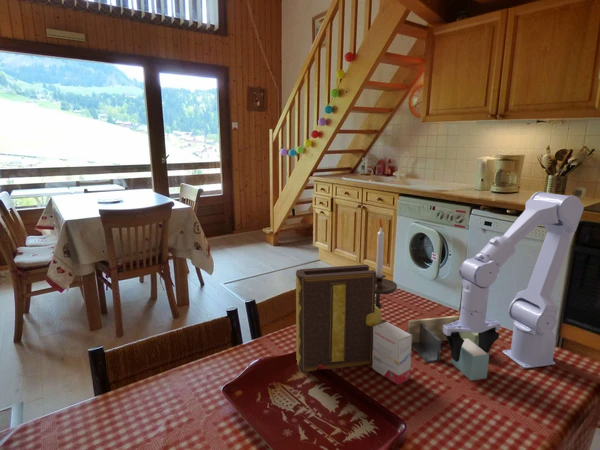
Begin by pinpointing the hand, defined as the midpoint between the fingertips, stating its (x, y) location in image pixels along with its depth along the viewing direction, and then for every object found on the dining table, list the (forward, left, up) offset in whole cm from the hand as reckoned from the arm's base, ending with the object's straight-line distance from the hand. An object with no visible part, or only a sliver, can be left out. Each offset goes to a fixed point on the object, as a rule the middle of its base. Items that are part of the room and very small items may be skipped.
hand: (468, 357), depth 93 cm
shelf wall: (0, -14, -3) cm, 15 cm away
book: (+31, -10, -3) cm, 33 cm away
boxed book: (0, 0, -3) cm, 3 cm away
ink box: (+20, -2, -3) cm, 20 cm away
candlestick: (+14, -25, -3) cm, 29 cm away
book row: (-7, -9, -3) cm, 12 cm away
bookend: (+7, -9, -3) cm, 12 cm away
